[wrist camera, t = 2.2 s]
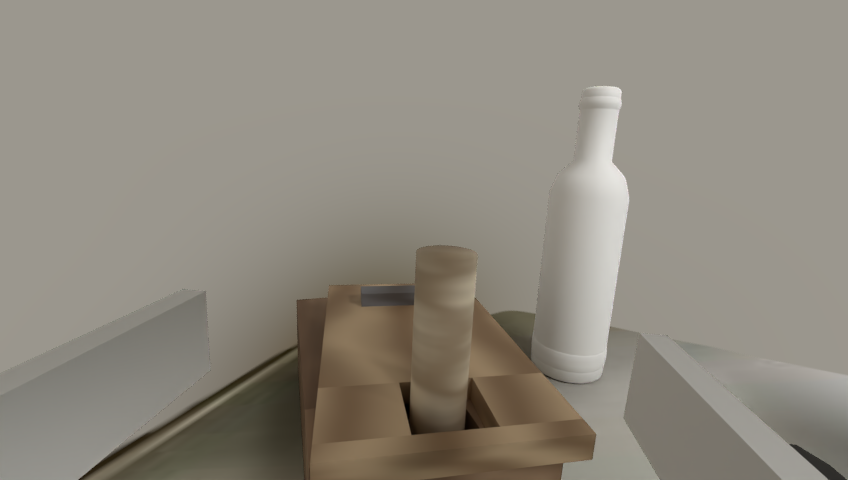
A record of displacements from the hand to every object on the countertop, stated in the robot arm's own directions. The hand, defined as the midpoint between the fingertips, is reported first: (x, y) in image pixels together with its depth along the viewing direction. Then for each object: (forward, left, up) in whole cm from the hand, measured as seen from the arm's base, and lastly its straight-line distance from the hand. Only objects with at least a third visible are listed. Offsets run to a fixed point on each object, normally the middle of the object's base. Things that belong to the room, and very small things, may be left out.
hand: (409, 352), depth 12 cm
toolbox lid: (-6, -16, -9) cm, 19 cm away
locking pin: (-4, -8, -13) cm, 16 cm away
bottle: (-26, -23, -17) cm, 39 cm away
